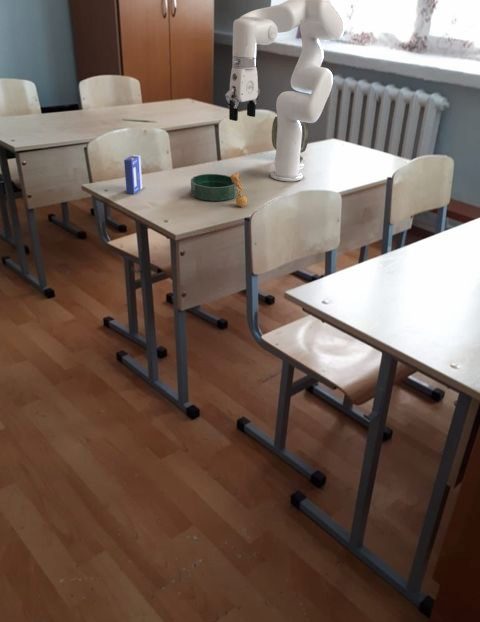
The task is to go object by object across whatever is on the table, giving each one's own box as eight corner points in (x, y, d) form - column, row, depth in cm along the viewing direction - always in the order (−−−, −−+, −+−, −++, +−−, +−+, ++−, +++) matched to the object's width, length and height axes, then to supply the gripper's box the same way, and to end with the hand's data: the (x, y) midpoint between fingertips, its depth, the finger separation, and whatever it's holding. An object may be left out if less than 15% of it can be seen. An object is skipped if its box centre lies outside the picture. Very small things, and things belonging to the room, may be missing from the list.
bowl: (211, 184, 223) (211, 171, 220) (245, 194, 216) (245, 180, 213) (181, 194, 212) (181, 180, 209) (216, 205, 204) (216, 190, 202)
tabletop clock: (273, 161, 255) (277, 99, 241) (269, 156, 262) (272, 95, 249) (306, 161, 258) (311, 100, 244) (301, 156, 265) (306, 96, 252)
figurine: (252, 209, 202) (253, 174, 196) (236, 211, 200) (237, 176, 193) (240, 201, 208) (241, 167, 202) (225, 203, 206) (226, 169, 199)
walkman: (133, 194, 209) (131, 159, 202) (126, 193, 209) (123, 158, 203) (143, 187, 215) (141, 154, 209) (135, 186, 216) (133, 153, 209)
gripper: (236, 66, 184) (235, 123, 194) (268, 62, 197) (266, 116, 206) (217, 63, 188) (217, 119, 197) (250, 59, 200) (249, 113, 209)
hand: (242, 118), depth 201 cm, fingers open, 9 cm apart
